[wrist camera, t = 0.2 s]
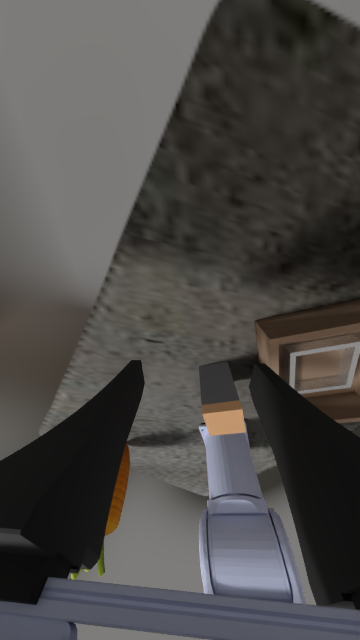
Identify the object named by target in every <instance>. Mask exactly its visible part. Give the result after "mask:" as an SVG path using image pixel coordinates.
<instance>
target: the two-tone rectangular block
mask: <svg viewBox="0 0 360 640" xmlns="http://www.w3.org/2000/svg"><path fill="white" fill-rule="evenodd" d="M199 373H200V388H201V402H202V414H203V417H204V420H205V423H206V426H207V429H208V432H209V435H210V436H214V435H224V434H235V433H245V432H246V429H245V423H244V417H243V412H242V407H241V404H240V401H239V397H238V394H237V391H236V388H235V384H234V381H233V378H232V374H231V371H230V368H229V365H228V361H227V362H221V363H215V364H210V365H204V366H199Z"/></svg>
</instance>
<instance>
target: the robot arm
mask: <svg viewBox="0 0 360 640" xmlns="http://www.w3.org/2000/svg"><path fill="white" fill-rule="evenodd" d="M144 384H145V383H144V376H143V370H142V364H141V360H131V361H130V362H129V363H128V364H127V365H126V366H125V367H124V369H123V370H122V371H121V372H120V373H119V374H118V375H117V376H116V377H115V378H114V379H113V380H112V381H111V382H110V383H109V384H108V385H107V386H105V387H104V388H103V389H102V390H101V391H100V392H99V393H98V394H97V395H96V396H94V397H93V398H92V399H91V400H90V401H89V402H87V403H86V404H85V405H84V406H83V407H81V408H80V409H79V410H78V411H76V412H75V413H74V414H72V415H71V416H70V417H68V418H67V419H65V420H64V421H63V422H61V423H60V424H58V425H57V426H55V427H54V428H53V429H51V430H50V431H48V432H47V433H45V434H44V435H42V436H41V437H39V438H38V439H36V440H34V441H33V442H31V443H30V444H28V445H26V446H25V447H23V448H22V449H20V450H18V451H17V452H15V453H13V454H12V455H10V456H8V457H6V458H5V459H3V460H1V461H0V640H77V628H76V625H75V624H74V623H79V624H87V625H95V626H103V627H112V628H120V629H128V630H136V631H144V632H152V633H160V634H168V635H177V636H185V637H193V638H201V639H210V640H360V437H358V436H356V435H355V434H353V433H352V432H350V431H349V430H347V429H346V428H344V427H343V426H342V425H340V424H339V423H337V422H336V421H335V420H333V419H332V418H330V417H329V416H328V415H326V414H325V413H323V412H322V411H321V410H319V409H318V408H317V407H316V406H314V405H313V404H312V403H311V402H309V401H308V400H307V399H305V398H304V397H303V396H302V395H301V394H299V393H298V392H297V391H296V390H295V389H293V388H292V387H291V386H290V385H289V384H288V383H286V382H285V381H284V380H283V379H282V378H281V377H280V376H279V375H277V374H276V373H275V372H274V371H273V370H272V369H271V368H270V367H268V366H267V365H266V364H265V363H255V364H254V368H253V373H252V377H251V381H250V385H249V388H250V392H251V396H252V399H253V403H254V406H255V408H256V411H257V413H258V415H259V418H260V420H261V423H262V425H263V428H264V430H265V432H266V435H267V437H268V440H269V442H270V445H271V447H272V450H273V453H274V456H275V459H276V462H277V465H278V469H279V471H280V475H281V478H282V482H283V485H284V488H285V492H286V495H287V499H288V502H289V506H290V509H291V513H292V516H293V520H294V524H295V528H296V531H297V535H298V539H299V543H300V547H301V551H302V555H303V559H304V563H305V567H306V571H307V576H308V580H309V584H310V587H311V590H312V593H313V596H314V598H315V601H316V604H317V605H307V604H306V601H305V597H304V592H303V587H302V583H301V580H300V576H299V572H298V568H297V565H296V562H295V558H294V555H293V552H292V549H291V546H290V543H289V540H288V537H287V534H286V531H285V528H284V526H283V523H282V521H281V518H280V516H279V515H277V513H276V512H275V511H274V509H272V508H267V505H266V502H265V499H263V497H262V493H261V489H260V486H259V482H258V479H257V475H256V472H255V468H254V464H253V461H252V457H251V454H250V447H249V440H248V434H247V428H246V423H245V421H244V423H245V429H246V432H245V433H235V434H224V435H214V436H210V435H209V432H208V429H207V426H206V424H203V425H199V429H200V432H201V435H202V438H203V440H204V443H205V446H206V457H207V470H208V484H209V497H210V500H208V501H207V506H208V509H205V510H203V513H202V515H201V517H200V522H199V551H200V552H199V553H200V566H201V574H202V581H203V586H204V593H195V592H186V591H177V590H167V589H158V588H148V587H139V586H129V585H119V584H111V583H101V582H92V581H83V580H73V579H67V577H68V575H69V573H76V574H78V573H79V571H80V569H87V570H90V569H91V568H92V567H93V566H94V565H95V564H96V563H97V562H98V560H99V559H100V556H101V550H102V545H103V541H104V536H105V531H106V526H107V521H108V516H109V512H110V507H111V503H112V498H113V494H114V490H115V485H116V481H117V477H118V473H119V469H120V465H121V461H122V457H123V453H124V449H125V445H126V442H127V439H128V435H129V433H130V430H131V427H132V424H133V421H134V418H135V415H136V412H137V410H138V407H139V404H140V401H141V397H142V393H143V388H144Z"/></svg>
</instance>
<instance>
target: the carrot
mask: <svg viewBox="0 0 360 640" xmlns="http://www.w3.org/2000/svg"><path fill="white" fill-rule="evenodd" d="M129 466H130V457H129V448H128V445H127V443H126V445H125V449H124V453H123V457H122V461H121V465H120V469H119V473H118V477H117V481H116V485H115V490H114V494H113V498H112V503H111V507H110V512H109V516H108V521H107V526H106V531H105V535H108V534H110V533H112V532H113V531H114V530H115V529H116V528H117V526H118V524H119V521H120V516H121V512H122V507H123V503H124V499H125V493H126V489H127V483H128V475H129ZM81 570H82V569H80V571H81ZM84 570H85V571H86V572H88V571H89V570H87V569H84ZM80 571H79V573H80ZM104 572H105V567H104V541H103V545H102V550H101V556H100V559H99V560H98V574H99V577H100V576H102V575H103V574H104ZM79 573H78V574H76V573H71V578H72V579H73V580H75V579H76V578H77V576H78V575H79Z"/></svg>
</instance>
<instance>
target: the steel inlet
mask: <svg viewBox="0 0 360 640" xmlns="http://www.w3.org/2000/svg"><path fill="white" fill-rule="evenodd" d="M337 349H342V350H341V355H340V361H339V366H338V371H337V376H331V377H324V378H317V379H310V380H303V381H296V382H295V364H296V356H301V355H307V354H313V353H319V352H325V351H331V350H337ZM359 354H360V339H359V338H357V337H355V336H353V335H352V334H346V335H340V336H334V337H329V338H323V339H317V340H312V341H306V342H300V343H295V344H289V345H284V381H285V382H286V383H288V384H289V385H290V386H291V387H292V388H293V389H295V390H296V391H297V392H298V393H299V394H304V393H312V392H319V391H327V390H335V389H343V388H351V385H352V381H353V377H354V373H355V369H356V365H357V361H358V358H359Z"/></svg>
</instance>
